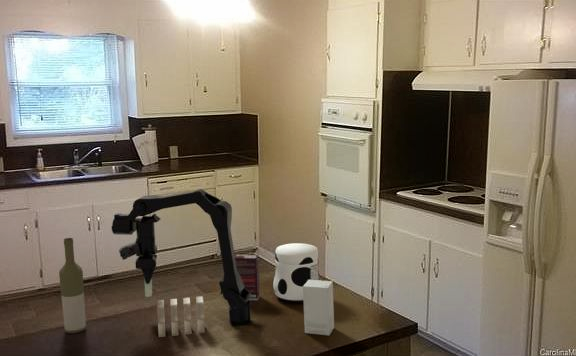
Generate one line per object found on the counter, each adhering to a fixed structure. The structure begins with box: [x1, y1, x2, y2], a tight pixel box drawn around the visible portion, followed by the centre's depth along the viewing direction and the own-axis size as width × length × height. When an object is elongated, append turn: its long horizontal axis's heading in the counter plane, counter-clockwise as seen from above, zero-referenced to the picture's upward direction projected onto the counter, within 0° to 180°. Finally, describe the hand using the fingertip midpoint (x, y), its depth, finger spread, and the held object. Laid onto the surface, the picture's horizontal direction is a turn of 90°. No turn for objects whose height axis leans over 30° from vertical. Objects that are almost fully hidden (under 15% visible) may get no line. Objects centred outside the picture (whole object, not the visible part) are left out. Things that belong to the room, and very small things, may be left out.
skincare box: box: [303, 279, 335, 336], centre depth 173 cm, size 8×7×16 cm
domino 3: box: [169, 298, 180, 337], centre depth 174 cm, size 2×5×10 cm, turn 12°
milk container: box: [272, 242, 321, 303], centre depth 202 cm, size 17×17×18 cm
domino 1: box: [143, 277, 153, 298], centre depth 184 cm, size 2×5×10 cm, turn 12°
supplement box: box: [235, 254, 260, 301], centre depth 202 cm, size 9×5×16 cm, turn 84°
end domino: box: [195, 295, 206, 334], centre depth 176 cm, size 2×5×10 cm, turn 12°
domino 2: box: [156, 299, 166, 338], centre depth 174 cm, size 2×5×10 cm, turn 12°
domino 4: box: [182, 297, 192, 335], centre depth 175 cm, size 2×5×10 cm, turn 12°
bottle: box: [58, 237, 87, 334], centre depth 175 cm, size 7×7×30 cm
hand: (148, 280), depth 184 cm, fingers closed on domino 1, 5 cm apart
